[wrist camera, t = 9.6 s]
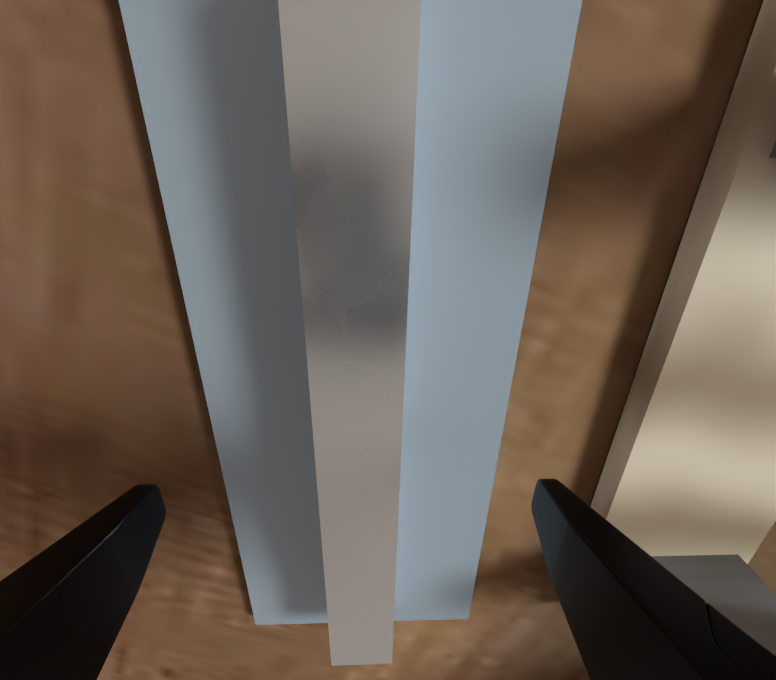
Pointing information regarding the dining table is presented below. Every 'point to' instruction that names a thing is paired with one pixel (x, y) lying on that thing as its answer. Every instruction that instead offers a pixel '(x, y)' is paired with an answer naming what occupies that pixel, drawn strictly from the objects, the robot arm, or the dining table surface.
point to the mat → (426, 272)
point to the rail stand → (712, 374)
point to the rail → (354, 287)
